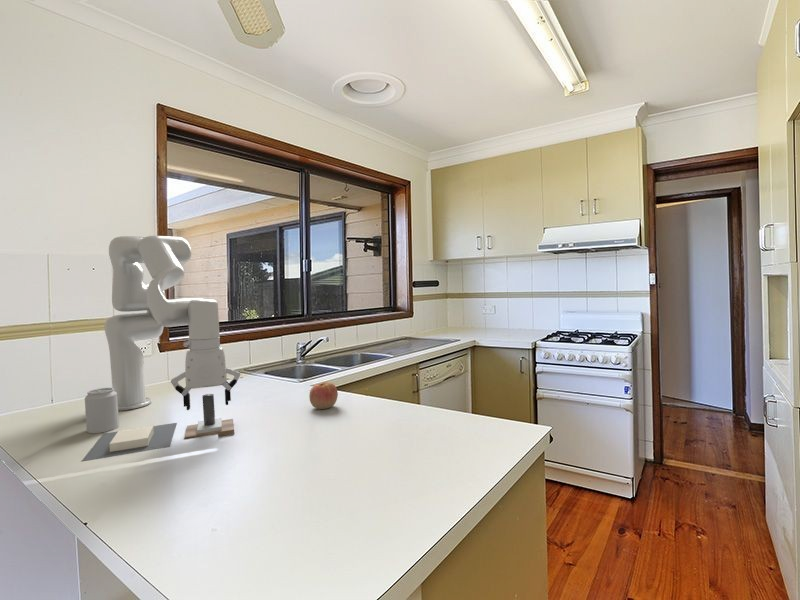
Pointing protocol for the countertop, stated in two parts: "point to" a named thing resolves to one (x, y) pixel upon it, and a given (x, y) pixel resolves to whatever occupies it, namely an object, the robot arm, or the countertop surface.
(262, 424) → the countertop surface
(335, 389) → the apple
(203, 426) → the grey post stand
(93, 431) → the can
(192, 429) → the plate
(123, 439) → the tile
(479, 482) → the countertop surface
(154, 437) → the mat
